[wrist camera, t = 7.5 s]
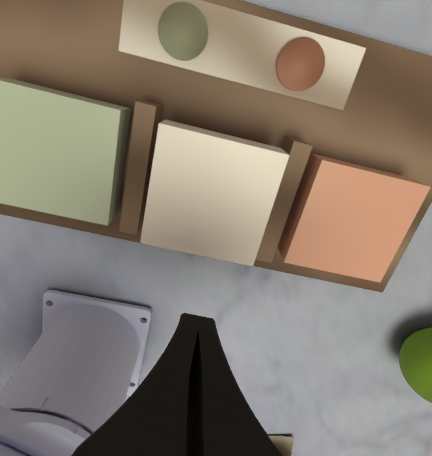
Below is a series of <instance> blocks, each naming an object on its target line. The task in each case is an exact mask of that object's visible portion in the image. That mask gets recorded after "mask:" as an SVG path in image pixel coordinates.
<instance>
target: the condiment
mask: <svg viewBox="0 0 432 456" xmlns="http://www.w3.org/2000/svg"><path fill="white" fill-rule="evenodd" d="M269 438H270V439H271V441H272V442H273V443H274V445H275V446H276V447H277V449H278V450H279V451H280V453H281V454H282V455H283V456H291V450H292V445H293V437H285V436H269Z"/></svg>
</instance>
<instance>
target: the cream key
mask: <svg viewBox="0 0 432 456" xmlns="http://www.w3.org/2000/svg"><path fill="white" fill-rule="evenodd" d="M288 159H289V154H288V153H286V152H285V151H284V150H283V149H281V148H279V147H275V146H271V145H267V144H263V143H259V142H255V141H250V140H246V139H242V138H238V137H234V136H230V135H226V134H222V133H218V132H214V131H210V130H206V129H202V128H198V127H194V126H190V125H186V124H182V123H178V122H174V121H170V120H166V119H165V120H163V121H162V122H160V123H159V125H158V132H157V138H156V144H155V151H154V157H153V163H152V170H151V176H150V183H149V189H148V195H147V202H146V208H145V214H144V221H143V227H142V233H141V240H140V244H145V245H150V246H155V247H160V248H165V249H170V250H174V251H179V252H184V253H189V254H194V255H199V256H204V257H209V258H213V259H218V260H223V261H228V262H233V263H238V264H243V265H248V266H253V265H254V262H255V259H256V256H257V253H258V250H259V247H260V244H261V241H262V238H263V235H264V231H265V228H266V225H267V222H268V219H269V216H270V213H271V210H272V207H273V204H274V201H275V198H276V195H277V192H278V189H279V186H280V183H281V180H282V177H283V174H284V171H285V168H286V165H287V162H288Z"/></svg>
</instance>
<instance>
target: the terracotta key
mask: <svg viewBox="0 0 432 456" xmlns="http://www.w3.org/2000/svg"><path fill="white" fill-rule="evenodd" d="M430 188H431V187H430V186H428V185H426V184H423V183H421V182H419V181H416V180H414V179H412V178H409V177H406V176H402V175H398V174H394V173H390V172H386V171H382V170H377V169H373V168H369V167H365V166H361V165H357V164H353V163H349V162H345V161H341V160H337V159H333V158H329V157H325V156H321V155H317V154H313V153H310V156H309V159H308V161H307V164H306V167H305V170H304V173H303V176H302V178H301V181H300V184H299V187H298V190H297V193H296V195H295V198H294V201H293V204H292V207H291V209H290V212H289V215H288V218H287V221H286V224H285V226H284V229H283V232H282V235H281V238H280V240H279V243H278V246H277V247H278V249H279V252H280V254H281V257H282V259H283V261H284V263H289V264H294V265H299V266H303V267H308V268H313V269H318V270H323V271H327V272H332V273H337V274H342V275H347V276H351V277H356V278H361V279H366V280H371V281H375V282H381V280H382V278H383V277H384V275H385V273H386V271H387V269H388V267H389V265H390V263H391V261H392V260H393V258H394V256H395V254H396V252H397V250H398V248H399V246H400V244H401V243H402V241H403V239H404V237H405V235H406V233H407V231H408V229H409V227H410V226H411V224H412V222H413V220H414V218H415V216H416V214H417V212H418V210H419V209H420V207H421V205H422V203H423V201H424V199H425V197H426V195H427V193H428V192H429V190H430Z"/></svg>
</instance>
